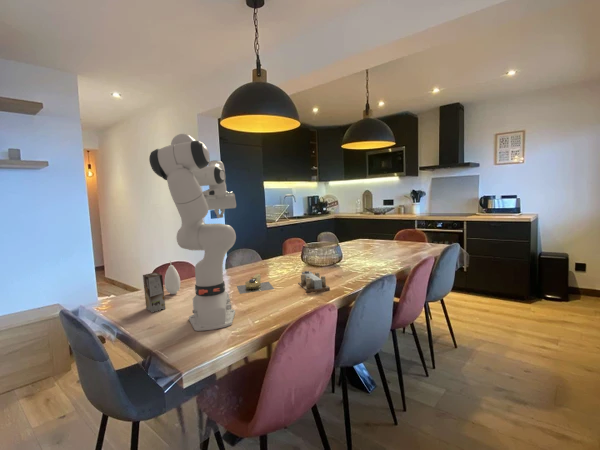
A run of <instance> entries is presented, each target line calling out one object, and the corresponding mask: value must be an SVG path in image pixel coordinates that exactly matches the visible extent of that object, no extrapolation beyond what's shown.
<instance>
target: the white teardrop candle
mask: <svg viewBox="0 0 600 450" xmlns="http://www.w3.org/2000/svg"><path fill="white" fill-rule="evenodd" d="M164 287H165V290H166V292H167V293H169V294H170V295H176V294H177V293H178V292H179V291H180V288H181V278H180V273H178V270H177V269H176V267H175V266H174V265H172V261H171V260H170V265H168V268H167V269H166V271H165V276H164Z"/></svg>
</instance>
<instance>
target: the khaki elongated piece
mask: <svg viewBox="0 0 600 450" xmlns="http://www.w3.org/2000/svg"><path fill="white" fill-rule="evenodd" d="M261 282H262V279H261V273H256V274H254V276H252V277H251V278H250V279H249V280H246V281H245V282H244V283H245V284H244V285H245V287H246V289H257V288H260V287H261V284H260V283H261Z"/></svg>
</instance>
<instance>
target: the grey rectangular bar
mask: <svg viewBox="0 0 600 450" xmlns="http://www.w3.org/2000/svg"><path fill="white" fill-rule="evenodd" d="M301 274H305V278H311V287H312V288H313V289H321V288H322V279H321V277H320V278H318V277H317V276H315V273H313V272H312V271H309V270H305V271H303V272H301Z"/></svg>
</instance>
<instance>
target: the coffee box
mask: <svg viewBox="0 0 600 450" xmlns="http://www.w3.org/2000/svg"><path fill="white" fill-rule="evenodd" d="M142 280H143V291H144V298H145V299H144V300H145V308H146V310H148V311H149V310H150V311H149V312H151V313H155V312H159V311H162V310H161V309H163V310H166V301H165V300H166V299H165V289H164V279H163V274H161V273H159V272H151V273H146V274H142ZM158 310H159V311H158ZM154 311H155V312H154Z"/></svg>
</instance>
